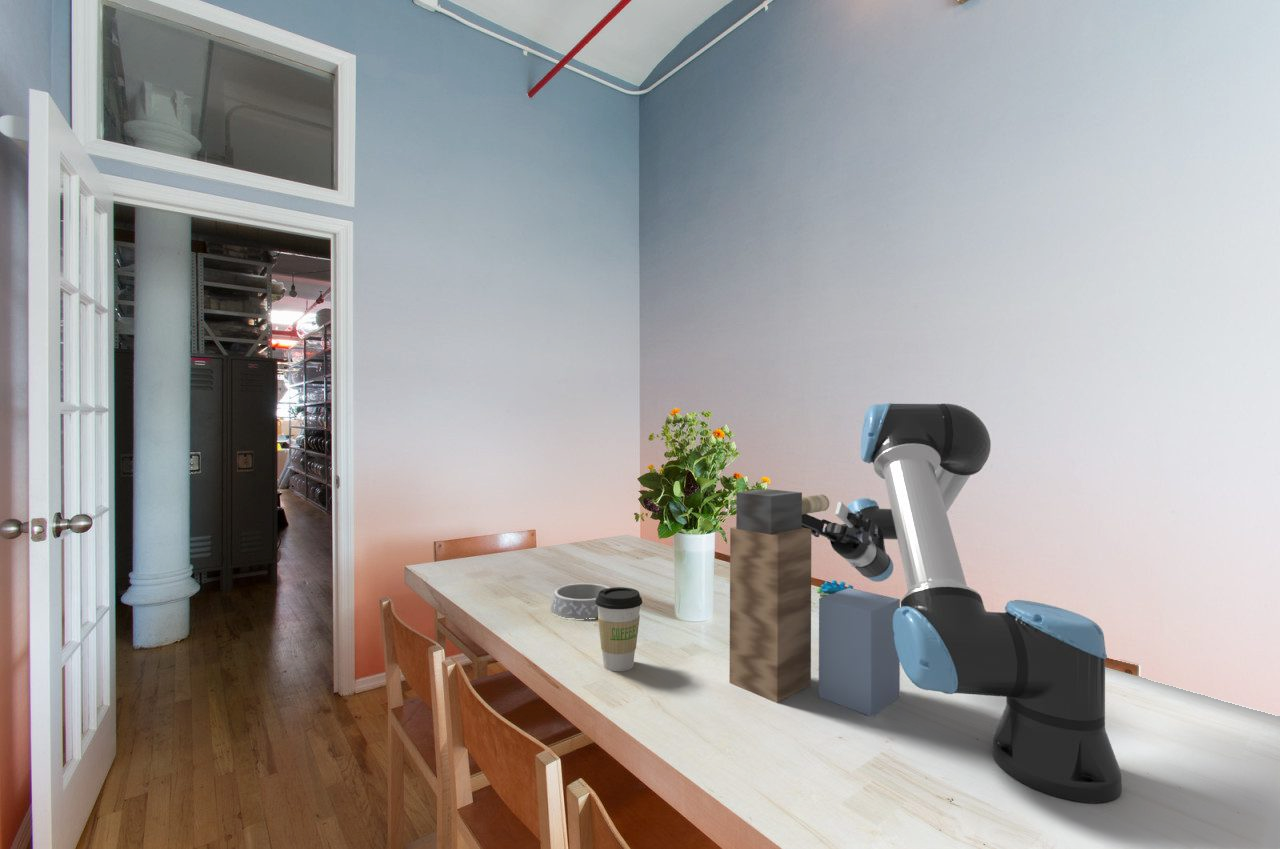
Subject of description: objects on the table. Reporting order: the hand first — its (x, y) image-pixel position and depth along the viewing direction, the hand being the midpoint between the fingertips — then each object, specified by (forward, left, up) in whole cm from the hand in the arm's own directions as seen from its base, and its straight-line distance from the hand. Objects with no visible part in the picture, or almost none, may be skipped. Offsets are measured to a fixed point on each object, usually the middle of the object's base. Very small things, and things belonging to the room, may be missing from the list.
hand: (808, 504), depth 121 cm
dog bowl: (+60, +14, -34) cm, 71 cm away
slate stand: (-14, +6, -33) cm, 37 cm away
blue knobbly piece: (+18, -43, -34) cm, 57 cm away
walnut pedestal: (0, +14, -33) cm, 36 cm away
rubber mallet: (0, +7, -3) cm, 8 cm away
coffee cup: (+26, +30, -34) cm, 52 cm away
